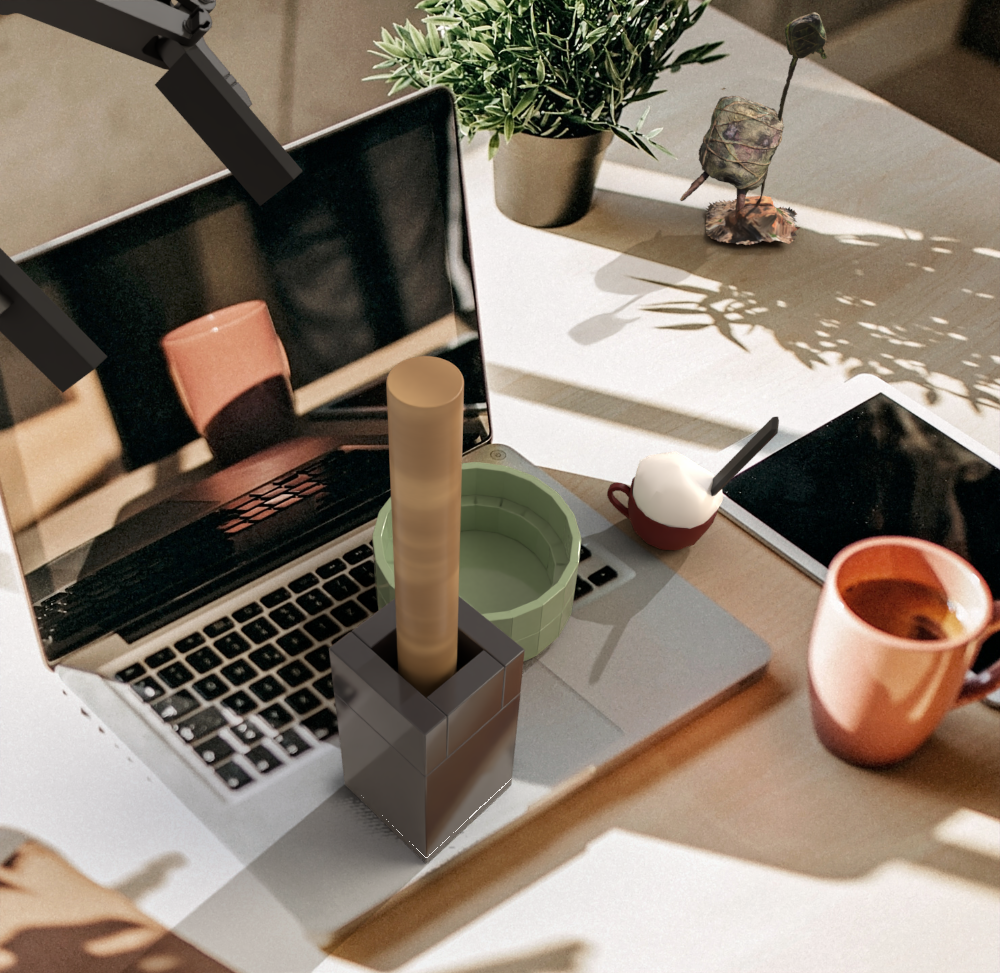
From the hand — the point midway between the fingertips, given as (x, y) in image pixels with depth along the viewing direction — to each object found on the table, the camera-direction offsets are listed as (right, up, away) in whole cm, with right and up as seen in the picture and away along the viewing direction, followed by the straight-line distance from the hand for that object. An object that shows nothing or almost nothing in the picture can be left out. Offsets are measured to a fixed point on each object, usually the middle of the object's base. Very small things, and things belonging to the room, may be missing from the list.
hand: (193, 274), depth 46 cm
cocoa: (+25, -12, +36) cm, 45 cm away
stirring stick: (+8, -19, +15) cm, 26 cm away
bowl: (+11, -16, +32) cm, 37 cm away
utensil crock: (+8, -26, +22) cm, 35 cm away
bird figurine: (+35, +16, +63) cm, 74 cm away
